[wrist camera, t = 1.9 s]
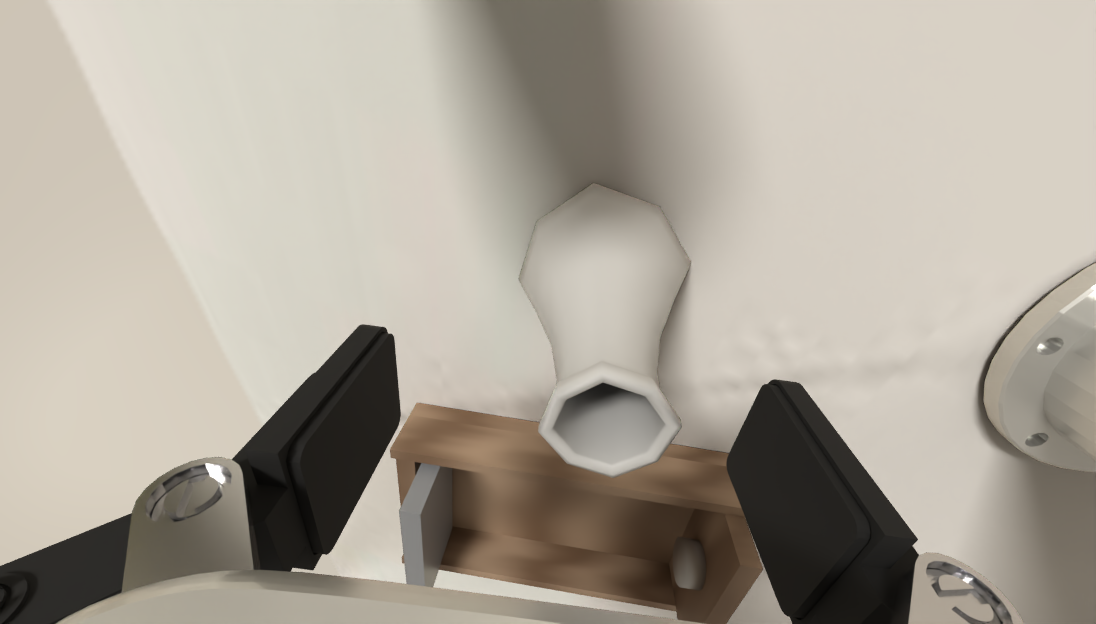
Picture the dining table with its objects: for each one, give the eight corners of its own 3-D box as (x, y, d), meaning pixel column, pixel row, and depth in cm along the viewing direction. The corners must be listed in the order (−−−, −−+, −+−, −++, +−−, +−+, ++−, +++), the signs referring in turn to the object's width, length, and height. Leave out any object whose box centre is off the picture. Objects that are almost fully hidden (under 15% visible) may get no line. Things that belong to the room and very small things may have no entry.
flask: (610, 360, 21) (621, 558, 12) (493, 279, 19) (407, 437, 10) (720, 256, 17) (846, 421, 9) (590, 148, 16) (585, 218, 7)
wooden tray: (728, 453, 23) (768, 561, 17) (678, 556, 28) (698, 664, 22) (416, 402, 23) (365, 492, 18) (423, 512, 28) (384, 607, 23)
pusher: (452, 437, 23) (420, 514, 18) (452, 527, 27) (426, 607, 23) (434, 434, 23) (399, 510, 18) (437, 525, 27) (408, 604, 23)
